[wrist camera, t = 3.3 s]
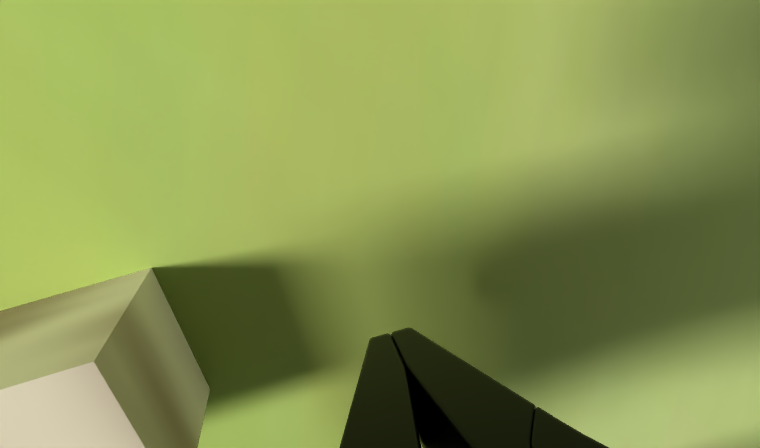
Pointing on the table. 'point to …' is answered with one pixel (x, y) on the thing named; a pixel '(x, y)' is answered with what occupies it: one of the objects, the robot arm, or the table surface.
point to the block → (99, 370)
